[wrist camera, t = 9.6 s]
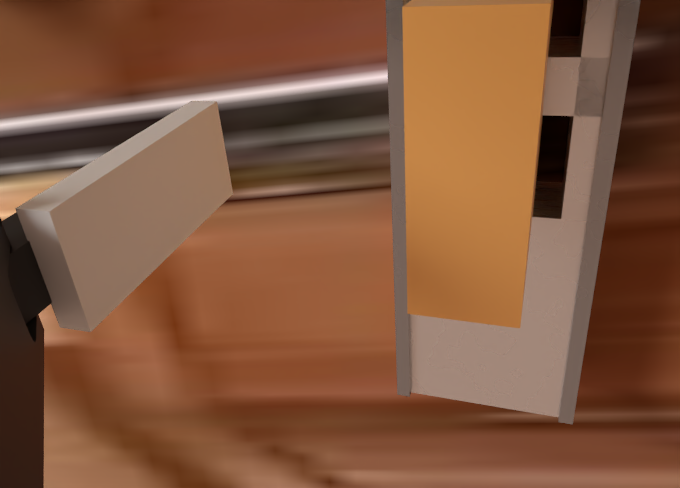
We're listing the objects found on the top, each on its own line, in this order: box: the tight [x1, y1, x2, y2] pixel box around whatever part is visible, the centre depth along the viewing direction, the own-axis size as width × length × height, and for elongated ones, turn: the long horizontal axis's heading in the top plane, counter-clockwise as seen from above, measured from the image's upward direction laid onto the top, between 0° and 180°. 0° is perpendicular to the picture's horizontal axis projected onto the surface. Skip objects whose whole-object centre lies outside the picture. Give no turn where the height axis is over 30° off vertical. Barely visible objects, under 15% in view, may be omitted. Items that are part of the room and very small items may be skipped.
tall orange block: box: [402, 0, 554, 328], centre depth 19 cm, size 8×3×12 cm, turn 4°
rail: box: [386, 0, 641, 424], centre depth 23 cm, size 30×8×4 cm, turn 4°
